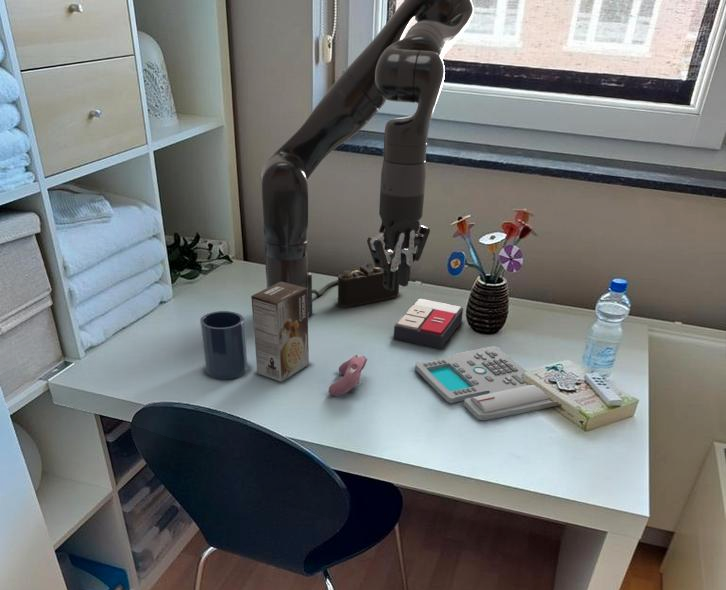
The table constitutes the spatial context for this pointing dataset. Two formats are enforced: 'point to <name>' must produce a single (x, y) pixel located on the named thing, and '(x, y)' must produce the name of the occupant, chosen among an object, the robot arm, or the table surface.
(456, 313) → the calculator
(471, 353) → the office telephone
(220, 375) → the pen cup
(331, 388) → the video game controller
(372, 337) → the table surface
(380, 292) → the camera
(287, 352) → the coffee box
